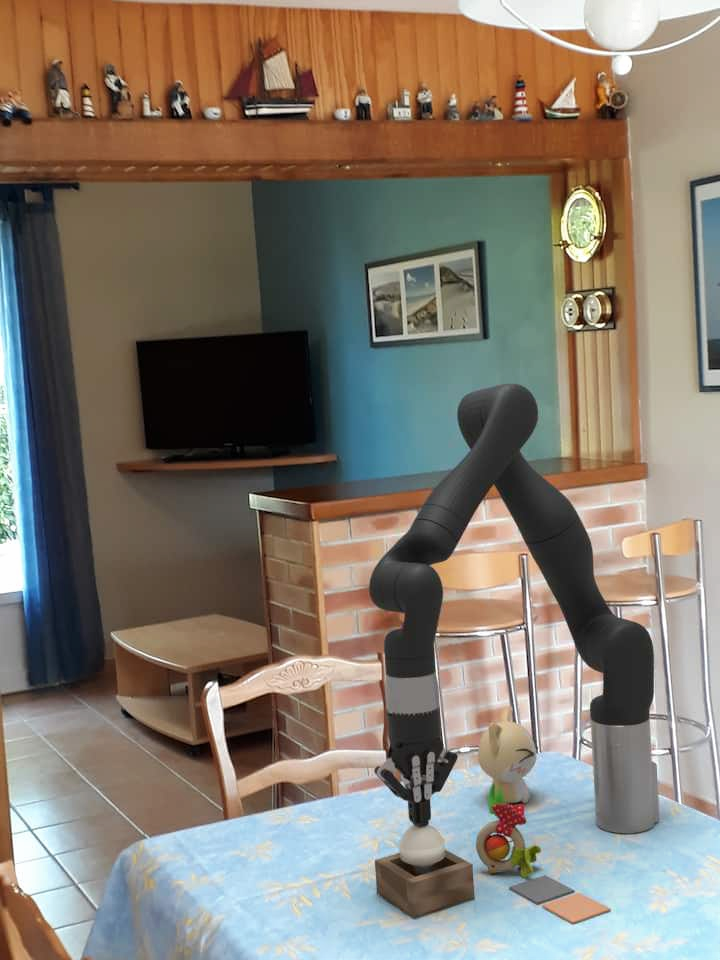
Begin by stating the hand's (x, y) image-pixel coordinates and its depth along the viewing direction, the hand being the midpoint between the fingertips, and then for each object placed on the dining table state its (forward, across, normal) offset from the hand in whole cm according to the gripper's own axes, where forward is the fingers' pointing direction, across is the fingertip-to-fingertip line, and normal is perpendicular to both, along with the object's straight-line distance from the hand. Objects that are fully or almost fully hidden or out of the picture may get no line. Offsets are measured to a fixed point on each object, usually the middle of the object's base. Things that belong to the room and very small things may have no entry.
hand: (420, 824), depth 168 cm
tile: (+10, -14, +16) cm, 24 cm away
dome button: (+7, 0, 0) cm, 7 cm away
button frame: (+10, 0, 0) cm, 11 cm away
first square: (+10, -14, +9) cm, 20 cm away
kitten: (+11, -32, -23) cm, 41 cm away
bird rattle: (+11, -14, +1) cm, 18 cm away
